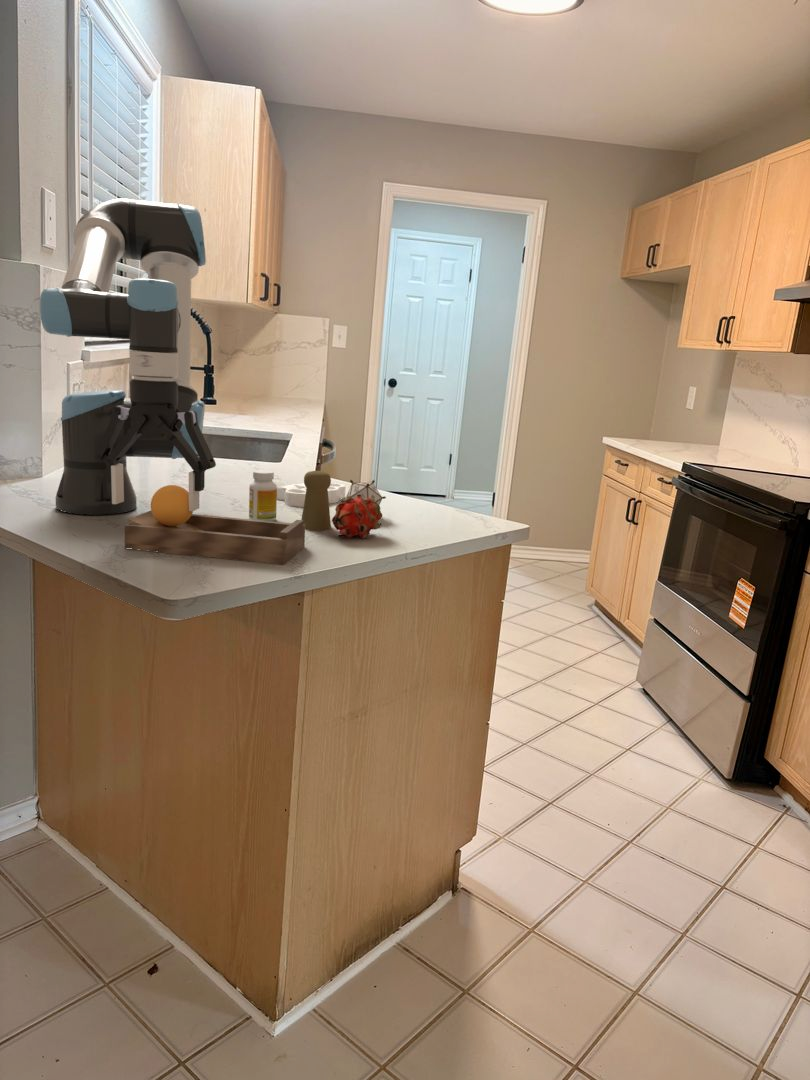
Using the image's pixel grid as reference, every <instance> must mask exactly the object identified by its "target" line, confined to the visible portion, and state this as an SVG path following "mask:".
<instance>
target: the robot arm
mask: <svg viewBox="0 0 810 1080" xmlns="http://www.w3.org/2000/svg"><path fill="white" fill-rule="evenodd" d="M202 221H203V220H202V215H201V213H200V211H199V210H198V209H197V208H196V207H194V206H192V205H191V206H190V205H185V204H180V203H178V202H176V203H165V202H157V201H148V200H139V199H138V200H137V199H131V198H115V199H111V200H107V201H105V202H101V203H99V204H97V205H96V206H93V207H92V208H91V209H89V210H88V211H86V212H85V213H84V214H83V215H82V216H81V217H80V219H79V220H78V221H77V223H76V226H75V229H74V232H73V244H74V250H73V252H72V255H71V259H70V261H69V263H68V267H67V271H66V272H65V276H64V279H63V282H62V285H61V288H60V287H55V288H53V287H52V288H44V289H42V291H41V293H40V299H39V313H40V322H41V326H42V327H43V329H44V331H45V332H47V333H48V334H49V335H58V336H66V337H67V338H68V337H80V338H82V337H84V338H100V339H102V338H103V339H116V340H129V346H128V347H129V351H128V352H129V353H128V354H129V356H128V357H129V375H130V376H132V377H133V378H132V379H130V380H129V397H127V394H126V393H125V391H124V390H123V389H105V390H92V391H83V392H77V393H75V392H74V393H70V394H67V395H65V396H64V397H63V398H62V401H61V416H60V421H61V429H62V430H61V432H62V436H61V437H62V452H63V453H62V455H63V471H62V472H63V473H62V474H61V478H60V482H59V483H58V484H59V485H58V487H57V488H58V489H57V491H56V495H55V509H56V508H57V509H59V510H62V511H66V512H70V513H69V514H72V513H75V514H74V515H83V514H86V516H90V515H92V516H93V515H96V516H99V515H114V514H115V515H116V514H122V513H127V512H131V511H133V510H135V509H137V508H138V507H137V495H136V493H135V489H134V487H133V484H132V482H131V478H130V476H129V473H128V469H127V466H128V465H127V457H129V458H130V457H131V458H136V457H137V458H161V459H162V458H163V459H165V458H166V459H172V460H175V459H184V460H185V462H187V464H188V465H189V466H190V468H191V469H192V470H191V471H189V472H188V492H189V511H193V512H195V511H197V510H199V509H200V492H202V491H204V490H205V484H206V483H205V480H206V479H205V474H206V471H207V470H210V469H213V468H215V467H216V466H217V463H216V461H215V459H214V456H213V454H212V452H211V450H210V448H209V445H208V443H207V440H206V438H205V436H204V434H203V427H204V417H205V407H206V405H205V402H204V401H202V400H201V399H198V395H199V394H198V393H199V392H198V391H197V390H196V389H195V387H192V385H191V334H192V333H191V331H192V329H191V328H192V326H191V324H192V323H191V321H192V320H191V319H192V318H191V317H192V316H191V312H192V310H191V309H192V308H191V305H192V300H191V299H192V298H191V297H192V279H194V278H195V277H196V276H197V275H198V273H199V270H200V269H199V268H200V267H203V266H206V263H207V259H206V248H205V237H204V228H203V222H202ZM121 259H123V260H125V259H127V260H134V261H140V267H141V269H142V270H143V271H144V273H145V274H147V278H133V279H130V280H129V282H128V289H127V291H128V292H127V293H118V292H117V293H115V292H110V289H111V284H112V280H113V278H114V277H113V276H114V272H115V268H116V264H117V262H118V261H120V260H121ZM57 509H56V510H57ZM59 510H58V511H59ZM62 511H61V512H62ZM66 512H65V513H66Z"/></svg>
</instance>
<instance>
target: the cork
mask: <svg viewBox="0 0 810 1080" xmlns="http://www.w3.org/2000/svg"><path fill="white" fill-rule="evenodd" d="M303 483H304V484H305V486H306V488H307V489H306V495H305V501H304V507H303V508H302V513H301V514H302V515H301V519H300V520H304V524H305V531H306V530H308V531H317V532H318V531H327V530H330V529H331V528H332V525H331V524H332V520H331V512H330V503H329V499H328V488H329V486H330V484H331V483H332V478H331V475H330V473H328V472H326V471H323V470H311V471H307V472H306V473H305V474H304V476H303Z"/></svg>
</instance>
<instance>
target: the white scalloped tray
mask: <svg viewBox="0 0 810 1080" xmlns="http://www.w3.org/2000/svg"><path fill="white" fill-rule="evenodd" d="M306 489H307V488H306V486H305V484H304V482H303V483H297V484H296V483H293V484H289V485H284V486H277V501H278V500H280V501H284V504H285V505H286V506H289V507H299V508H300V507H301V508H302V507H304V501H305V495H306ZM341 498H346V485H345V484H341V483H334V482H331V484H330V486H329V488H328V499H329V504H333V503H334V504H336V503H338V502H340V500H342V499H341ZM339 499H340V500H339Z"/></svg>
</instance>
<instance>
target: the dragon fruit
mask: <svg viewBox="0 0 810 1080" xmlns="http://www.w3.org/2000/svg"><path fill="white" fill-rule="evenodd" d="M344 501H345V502H343V503H342V502H340V503H338V504H337V505H336V506H335V508H334V510H335V515H334V516H333V517H332V518H331V523H332V525H333V526H334V528H335V530H336V531H338V533H339V534H338V536H337V537H339V538H346V539H351V538H352V537H355V536H359V537H360V538H361V539H362V540H365V538H366V537H368V536H370V532H371V530H378V529H381V527H382V523H379V522H380V521H381V520H383V513H382V512H381V507H380V505H379V504H377V503H375V499H374V498H368V499H367V500H365V499H363V498H362V496H361V495H357V498H356V499H353V498H349V497H348V498H347V499H346V500H345V499H344Z"/></svg>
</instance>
